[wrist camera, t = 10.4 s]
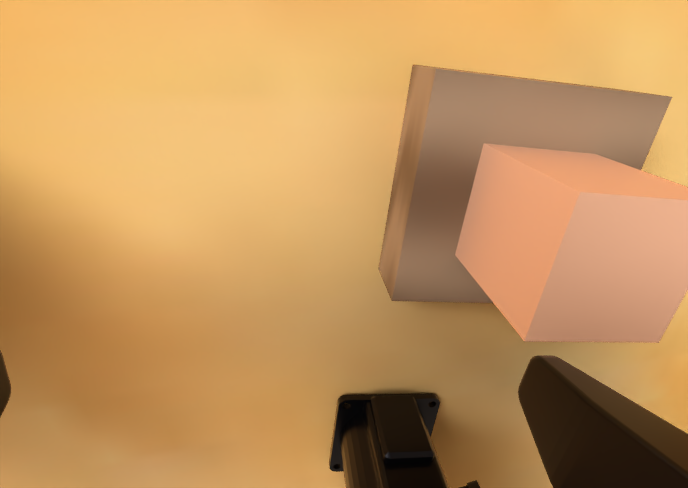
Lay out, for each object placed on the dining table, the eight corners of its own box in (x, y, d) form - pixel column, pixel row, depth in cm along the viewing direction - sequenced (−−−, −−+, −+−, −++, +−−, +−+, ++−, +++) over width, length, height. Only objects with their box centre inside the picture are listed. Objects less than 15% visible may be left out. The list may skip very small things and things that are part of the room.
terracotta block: (555, 259, 19) (658, 342, 14) (454, 255, 18) (524, 341, 13) (594, 153, 17) (734, 204, 12) (483, 143, 16) (580, 192, 11)
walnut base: (549, 275, 23) (583, 304, 21) (378, 269, 22) (391, 300, 19) (618, 89, 19) (672, 97, 17) (412, 64, 18) (435, 68, 15)
